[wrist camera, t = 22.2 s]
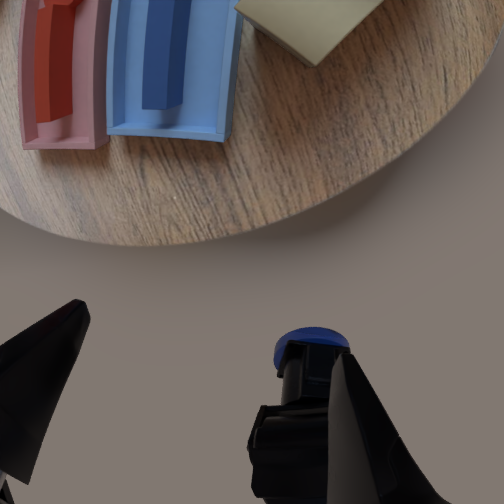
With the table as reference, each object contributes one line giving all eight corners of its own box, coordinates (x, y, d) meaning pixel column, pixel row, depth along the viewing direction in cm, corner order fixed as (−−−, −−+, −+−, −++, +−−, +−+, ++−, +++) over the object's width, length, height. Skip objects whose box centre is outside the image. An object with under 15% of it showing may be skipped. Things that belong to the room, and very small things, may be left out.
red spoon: (55, -26, 11) (33, -29, 9) (96, -41, 11) (74, -47, 8) (47, 115, 17) (25, 124, 15) (85, 112, 17) (62, 121, 15)
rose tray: (110, 141, 19) (95, 149, 17) (38, 142, 19) (22, 149, 18) (124, -57, 10) (110, -64, 9) (44, -30, 11) (27, -31, 9)
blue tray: (230, 135, 18) (223, 142, 16) (121, 128, 18) (106, 135, 17) (257, -82, 9) (253, -95, 8) (140, -71, 10) (126, -79, 8)
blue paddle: (160, -62, 10) (142, -74, 8) (221, -68, 10) (210, -84, 8) (143, 102, 17) (123, 109, 15) (201, 104, 16) (187, 110, 14)
